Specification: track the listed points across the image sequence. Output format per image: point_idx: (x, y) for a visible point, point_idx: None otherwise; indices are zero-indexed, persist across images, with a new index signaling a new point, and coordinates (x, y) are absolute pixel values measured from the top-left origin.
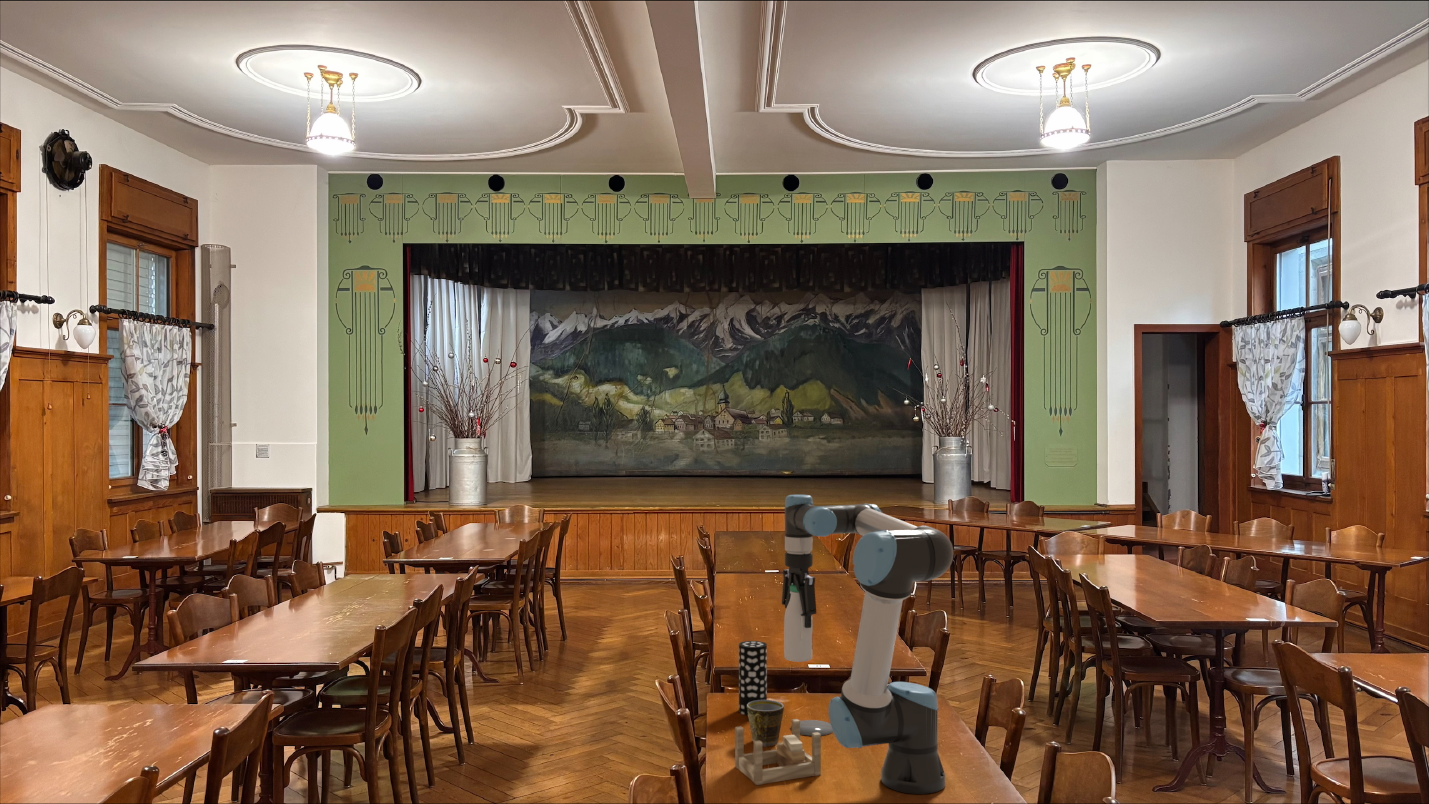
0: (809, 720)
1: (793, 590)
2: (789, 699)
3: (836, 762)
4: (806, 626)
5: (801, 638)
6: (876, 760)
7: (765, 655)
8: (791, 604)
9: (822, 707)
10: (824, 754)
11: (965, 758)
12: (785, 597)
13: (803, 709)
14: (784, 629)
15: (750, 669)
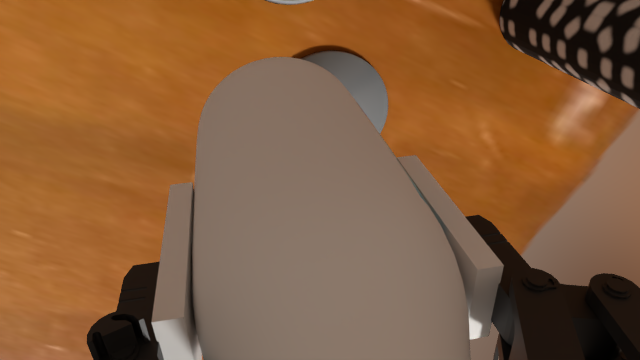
0: (380, 125)
1: None
2: (558, 145)
3: (31, 58)
4: (130, 274)
5: (185, 187)
6: (32, 168)
7: (633, 98)
8: (326, 334)
9: (463, 195)
10: (110, 53)
11: (19, 345)
12: (625, 355)
13: (475, 148)
14: (335, 125)
15: (615, 13)
